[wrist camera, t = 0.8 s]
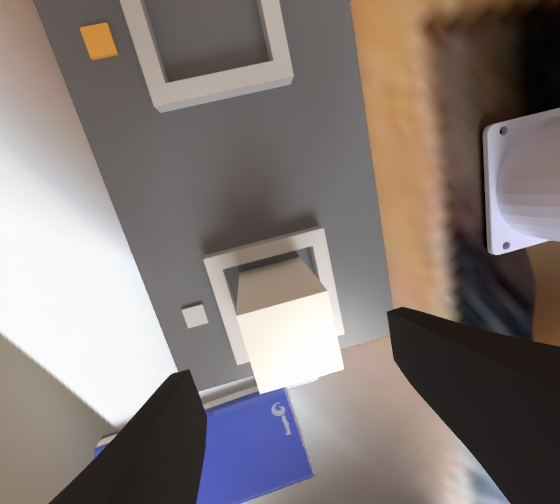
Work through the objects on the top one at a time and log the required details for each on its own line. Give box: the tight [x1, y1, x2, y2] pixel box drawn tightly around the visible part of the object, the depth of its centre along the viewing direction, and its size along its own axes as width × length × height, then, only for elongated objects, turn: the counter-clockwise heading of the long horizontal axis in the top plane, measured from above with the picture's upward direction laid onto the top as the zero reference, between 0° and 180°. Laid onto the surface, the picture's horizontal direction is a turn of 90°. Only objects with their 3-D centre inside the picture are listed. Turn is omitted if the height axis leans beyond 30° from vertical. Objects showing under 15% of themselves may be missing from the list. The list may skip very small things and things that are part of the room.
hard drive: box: [94, 385, 315, 504], centre depth 18 cm, size 2×8×12 cm
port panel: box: [34, 0, 393, 392], centre depth 14 cm, size 14×24×2 cm, turn 13°
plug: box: [236, 257, 344, 394], centre depth 13 cm, size 4×4×6 cm
